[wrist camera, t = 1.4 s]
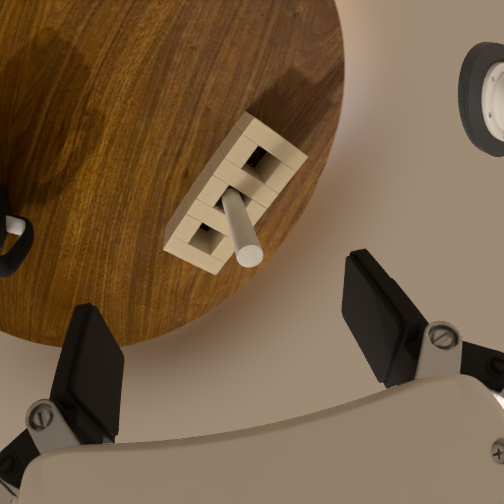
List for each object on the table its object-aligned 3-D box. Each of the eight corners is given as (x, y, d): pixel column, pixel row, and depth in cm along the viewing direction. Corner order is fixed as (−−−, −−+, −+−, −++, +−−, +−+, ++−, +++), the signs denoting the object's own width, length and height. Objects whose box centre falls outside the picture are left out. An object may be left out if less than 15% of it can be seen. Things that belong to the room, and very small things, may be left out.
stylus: (229, 173, 32) (255, 239, 21) (238, 186, 33) (268, 258, 22) (214, 183, 33) (231, 254, 21) (224, 196, 34) (245, 272, 22)
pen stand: (245, 110, 29) (254, 117, 25) (292, 144, 32) (308, 157, 28) (165, 226, 34) (162, 249, 30) (212, 250, 37) (215, 275, 33)
